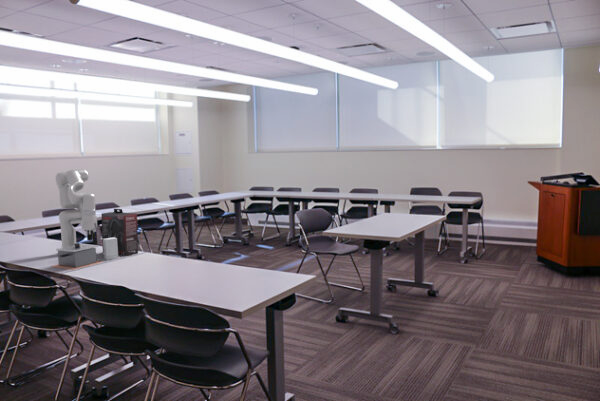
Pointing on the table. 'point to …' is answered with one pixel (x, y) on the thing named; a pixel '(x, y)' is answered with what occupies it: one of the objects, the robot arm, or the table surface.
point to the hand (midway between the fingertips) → (90, 239)
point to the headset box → (121, 230)
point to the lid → (77, 247)
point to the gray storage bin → (77, 258)
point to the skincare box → (110, 248)
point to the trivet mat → (74, 268)
